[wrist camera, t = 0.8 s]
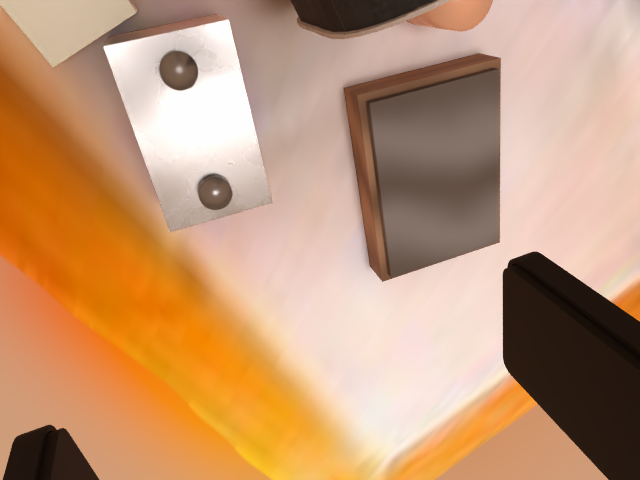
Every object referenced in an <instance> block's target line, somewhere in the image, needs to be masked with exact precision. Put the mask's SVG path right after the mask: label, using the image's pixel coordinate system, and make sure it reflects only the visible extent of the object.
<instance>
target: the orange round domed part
mask: <svg viewBox="0 0 640 480" xmlns="http://www.w3.org/2000/svg"><path fill="white" fill-rule="evenodd" d="M492 1H493V0H450V1H448V2H446V3H444V4H442V5H441V6H439V7H437V8H435V9H432V10H430V11H428V12H426V13H423V14H421V15H419V16H416V17H414V18H411V19H409V20H407V21H408V22H410V23H412V24H415V25H422V26H428V27H435V28H441V29H447V30H454V31H466V30H470V29H472V28H474V27H475V26H477V25H478V24H479V23H480V22H481V21H482V20H483V19H484V18H485V16H486V15H487V13H488V11H489V9H490V7H491V4H492Z"/></svg>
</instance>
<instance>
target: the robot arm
mask: <svg viewBox="0 0 640 480" xmlns="http://www.w3.org/2000/svg"><path fill="white" fill-rule="evenodd" d="M503 360H504V364H505V366H506V368H507V370H508V372H509V373H510V374H511V375H512V376H513V378H514V379H515V380H516V381H517V382H518V383H519V384H520V385H521V386H522V387H523V388H524V389H525V390H526V391H527V393H528V394H529V395H530V396H531V397H532V398H533V399H534V400H535V401H536V402H537V403H538V404H539V405H540V406H541V408H543V410H544V411H545V412H546V413H547V414H548V415H549V416H550V417H551V418H552V419H553V420H554V421H555V423H556V424H557V425H558V426H559V427H560V428H561V429H562V430H563V431H564V432H565V433H566V434H567V435H568V436H569V438H570V439H571V440H572V441H573V442H574V443H575V444H576V445H577V446H578V447H579V448H580V449H581V450H582V451H583V453H584V454H585V455H586V456H587V457H588V458H589V459H590V460H591V461H592V462H593V463H594V464H595V466H596V467H597V468H598V469H599V470H600V471H601V472H602V473H603V474H604V475H605V476H606V477H607V478H608V479H609V480H640V322H639V321H638V320H636V319H635V318H634V317H632V316H631V315H629V314H628V313H626V312H625V311H623V310H622V309H620V308H619V307H618V306H616V305H615V304H613V303H612V302H610V301H609V300H607V299H606V298H605V297H603V296H602V295H600V294H599V293H597V292H596V291H594V290H593V289H591V288H590V287H589V286H587V285H586V284H584V283H583V282H581V281H580V280H578V279H577V278H576V277H574V276H573V275H571V274H570V273H568V272H567V271H565V270H564V269H562V268H561V267H560V266H558V265H557V264H555V263H554V262H552V261H551V260H549V259H548V258H547V257H545V256H544V255H542V254H541V253H539V252H531V253H528V254H525V255H523V256H520V257H517V258H514V259H512V260H510V261H509V263H508V268H506V269H504V271H503ZM3 480H99V479H98V477H97V476H96V474H95V472H94V471H93V469H92V468H91V466H90V465H89V463H88V462H87V460H86V459H85V457H84V456H83V454H82V453H81V451H80V450H79V448H78V447H77V445H76V443H75V442H74V440H73V439H72V437H71V436H70V434H69V433H68V432H67V430H66V429H64V428H62V429H59V430H56V428H55V427H54V426H52V425H47V426H44V427H41V428H38V429H36V430H33V431H30V432H28V433H24V434H21V435H19V436H17V437H16V438H15V439H14V442H13V444H12V448H11V452H10V456H9V459H8V463H7V466H6V470H5V474H4V477H3Z"/></svg>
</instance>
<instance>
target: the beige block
mask: <svg viewBox="0 0 640 480" xmlns="http://www.w3.org/2000/svg"><path fill="white" fill-rule="evenodd" d="M0 5H1V6H2V8H3V9H4V10H5V11H6V12H7V13H8V15H9V16H10V17H11V18H12V19H13V21H14V22H15V23H16V24H17V25H18V27H19V28H20V29H21V30H22V31H23V33H24V34H25V35H26V36H27V37H28V39H29V40H30V41H31V42H32V43H33V44H34V46H35V47H36V48H37V49H38V50H39V52H40V53H41V54H42V55H43V56H44V58H45V59H46V60H47V61H48V62H49V64H50V65H51V66H52V67H53V68H54V67H55V66H57V65H58V64H60V63H61V62H63V61H64V60H66V59H67V58H69V57H70V56H72V55H73V54H75V53H76V52H78V51H79V50H81V49H82V48H84V47H85V46H87V45H89V44H90V43H92V42H93V41H95V40H96V39H98V38H99V37H101V36H102V35H104V34H105V33H107V32H108V31H110V30H111V29H113V28H114V27H116V26H117V25H119V24H120V23H122V22H123V21H125V20H126V19H128V18H129V17H131V16H132V15H134V14H135V13H137V9H136V7H135V6H134V4H133V3H132V1H131V0H0Z"/></svg>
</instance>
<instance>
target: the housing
mask: <svg viewBox="0 0 640 480" xmlns="http://www.w3.org/2000/svg"><path fill="white" fill-rule="evenodd" d="M103 47H104V50H105V53H106V56H107V59H108V61H109V64H110V67H111V70H112V72H113V75H114V78H115V81H116V83H117V86H118V89H119V92H120V94H121V97H122V100H123V103H124V106H125V108H126V111H127V114H128V117H129V119H130V122H131V125H132V128H133V130H134V133H135V136H136V139H137V142H138V144H139V147H140V150H141V153H142V155H143V158H144V161H145V164H146V166H147V169H148V172H149V175H150V178H151V180H152V183H153V186H154V189H155V191H156V194H157V197H158V200H159V202H160V205H161V208H162V211H163V214H164V216H165V219H166V222H167V225H168V227H169V230H170V232H172V231H176V230H179V229H183V228H186V227H190V226H193V225H197V224H200V223H204V222H207V221H211V220H214V219H218V218H221V217H224V216H228V215H231V214H235V213H238V212H242V211H245V210H249V209H252V208H256V207H259V206H263V205H266V204H270V203H272V199H271V194H270V190H269V186H268V182H267V178H266V173H265V169H264V165H263V161H262V157H261V152H260V148H259V144H258V140H257V136H256V132H255V127H254V123H253V119H252V115H251V111H250V106H249V102H248V98H247V94H246V90H245V85H244V81H243V77H242V73H241V69H240V64H239V60H238V56H237V52H236V48H235V44H234V39H233V35H232V31H231V27H230V23H229V19H226V18H224V17H222V16H219V15H217V14H213V15H209V16H204V17H199V18H195V19H190V20H185V21H180V22H176V23H171V24H166V25H162V26H157V27H152V28H147V29H143V30H138V31H133V32H129V33H124V34H119V35H115V36H110V37H109V38H108V39H107V41H106V43H105V44H104V46H103Z"/></svg>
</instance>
